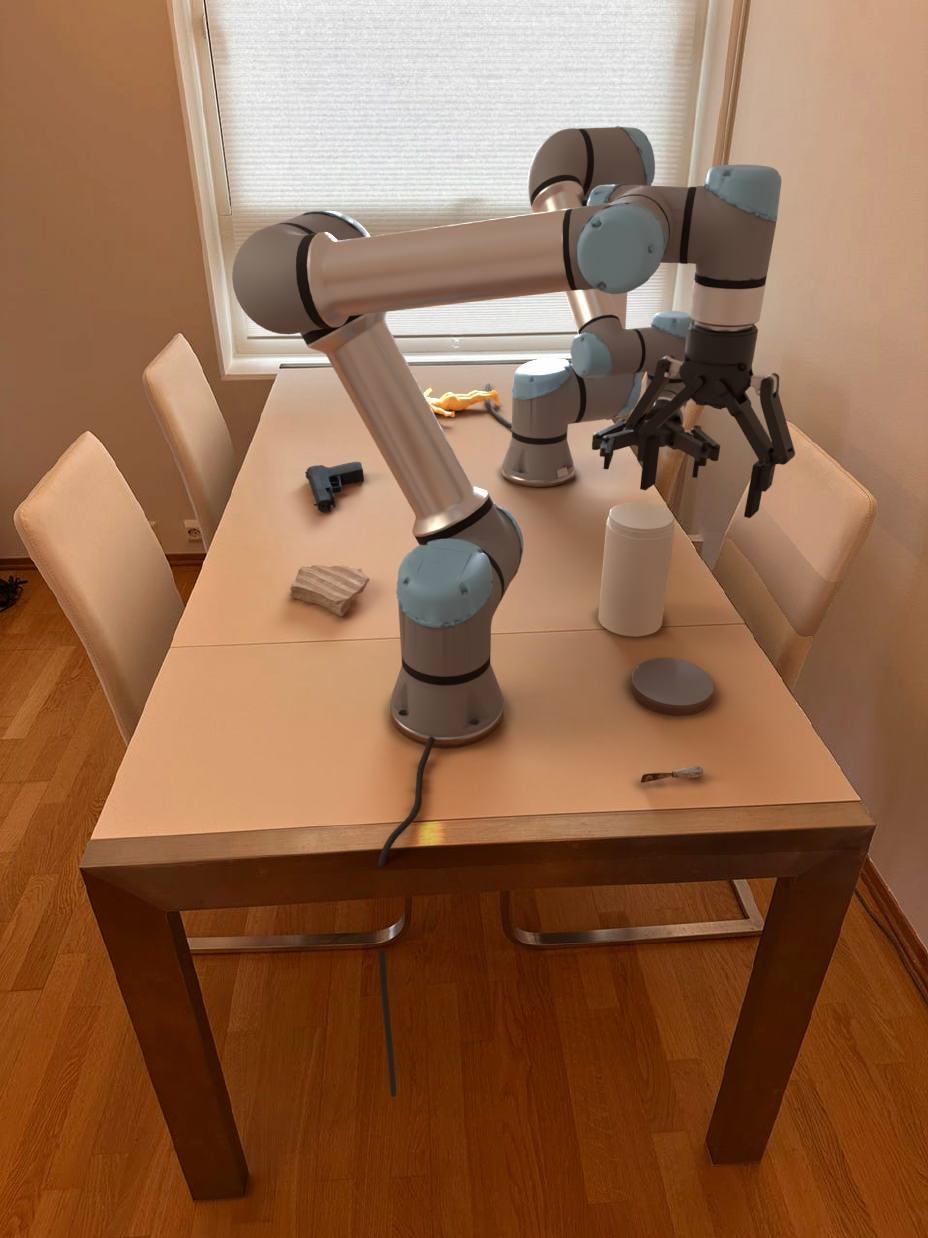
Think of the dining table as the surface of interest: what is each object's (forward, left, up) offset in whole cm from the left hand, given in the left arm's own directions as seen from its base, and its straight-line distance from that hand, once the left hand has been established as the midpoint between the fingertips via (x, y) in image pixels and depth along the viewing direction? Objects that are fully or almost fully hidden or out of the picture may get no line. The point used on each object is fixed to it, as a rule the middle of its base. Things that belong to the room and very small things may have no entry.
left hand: (697, 499), depth 110 cm
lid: (0, 0, -28) cm, 28 cm away
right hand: (+28, +6, -7) cm, 29 cm away
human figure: (+109, +56, -29) cm, 127 cm away
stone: (+15, +56, -29) cm, 64 cm away
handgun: (+55, +68, -29) cm, 92 cm away
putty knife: (-19, 0, -29) cm, 35 cm away
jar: (+18, +6, -29) cm, 35 cm away
